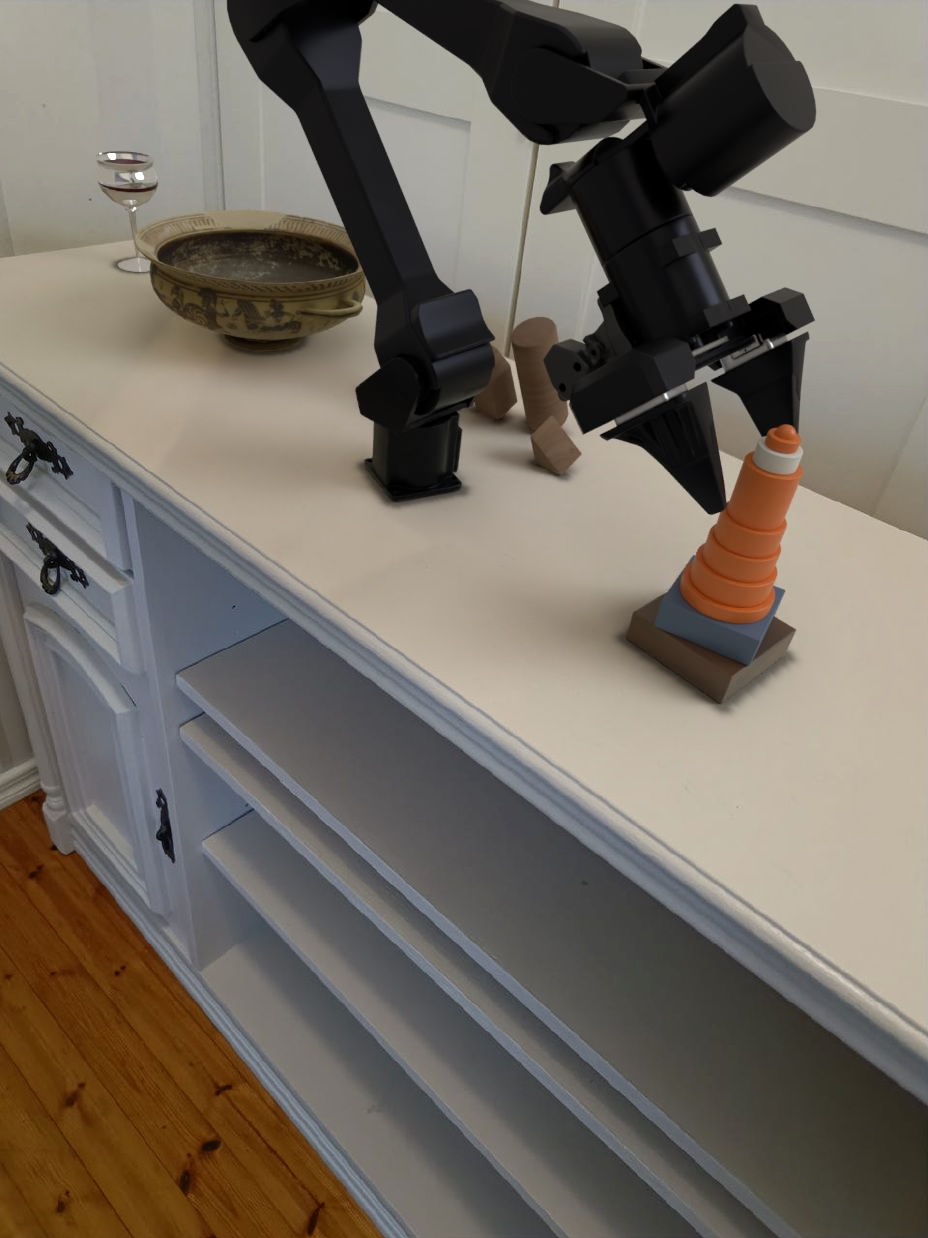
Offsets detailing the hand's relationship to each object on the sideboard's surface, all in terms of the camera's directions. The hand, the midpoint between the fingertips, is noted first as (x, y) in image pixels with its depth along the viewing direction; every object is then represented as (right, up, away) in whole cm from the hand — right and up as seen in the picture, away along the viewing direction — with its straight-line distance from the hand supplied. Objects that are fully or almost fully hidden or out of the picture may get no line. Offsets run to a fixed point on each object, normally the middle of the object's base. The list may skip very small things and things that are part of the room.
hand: (755, 486), depth 51 cm
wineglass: (-58, +36, +54) cm, 87 cm away
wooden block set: (-13, +10, +31) cm, 35 cm away
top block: (-1, -8, +6) cm, 10 cm away
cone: (0, -6, +5) cm, 8 cm away
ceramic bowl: (-39, +22, +41) cm, 61 cm away
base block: (-1, -10, +8) cm, 13 cm away
